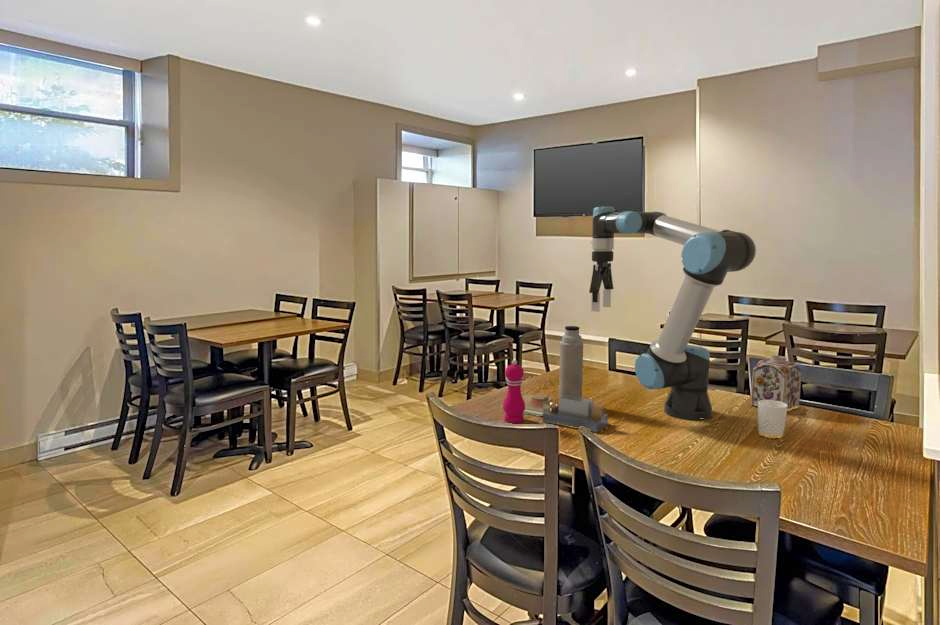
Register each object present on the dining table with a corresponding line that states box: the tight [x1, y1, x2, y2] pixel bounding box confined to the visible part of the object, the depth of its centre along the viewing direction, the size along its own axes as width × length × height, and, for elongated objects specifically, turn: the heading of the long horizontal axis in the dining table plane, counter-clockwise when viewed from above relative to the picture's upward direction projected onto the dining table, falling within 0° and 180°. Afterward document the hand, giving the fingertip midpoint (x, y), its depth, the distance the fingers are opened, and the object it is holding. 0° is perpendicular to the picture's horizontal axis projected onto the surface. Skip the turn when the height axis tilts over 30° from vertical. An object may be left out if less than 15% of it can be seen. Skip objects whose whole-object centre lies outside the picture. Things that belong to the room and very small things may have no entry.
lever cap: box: [522, 393, 553, 412], centre depth 202 cm, size 10×7×4 cm
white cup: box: [757, 400, 788, 436], centre depth 177 cm, size 8×8×10 cm
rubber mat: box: [522, 409, 549, 417], centre depth 202 cm, size 11×11×1 cm
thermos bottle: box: [558, 325, 584, 399], centre depth 206 cm, size 8×8×28 cm
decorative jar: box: [750, 355, 802, 409], centre depth 205 cm, size 12×12×18 cm
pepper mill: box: [502, 359, 525, 424], centre depth 191 cm, size 7×7×20 cm
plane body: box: [542, 395, 609, 434], centre depth 189 cm, size 18×10×8 cm, turn 58°
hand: (601, 309), depth 215 cm, fingers open, 13 cm apart
